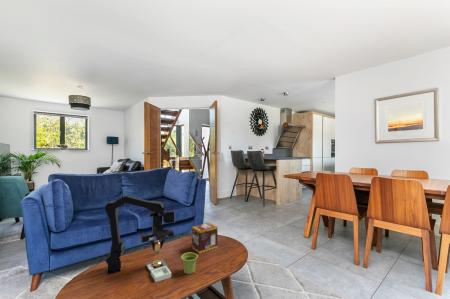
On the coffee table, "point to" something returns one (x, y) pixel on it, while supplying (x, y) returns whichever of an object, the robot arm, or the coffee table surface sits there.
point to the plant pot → (189, 262)
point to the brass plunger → (156, 263)
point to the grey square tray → (150, 267)
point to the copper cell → (157, 247)
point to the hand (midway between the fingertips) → (157, 249)
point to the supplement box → (204, 237)
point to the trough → (160, 273)
